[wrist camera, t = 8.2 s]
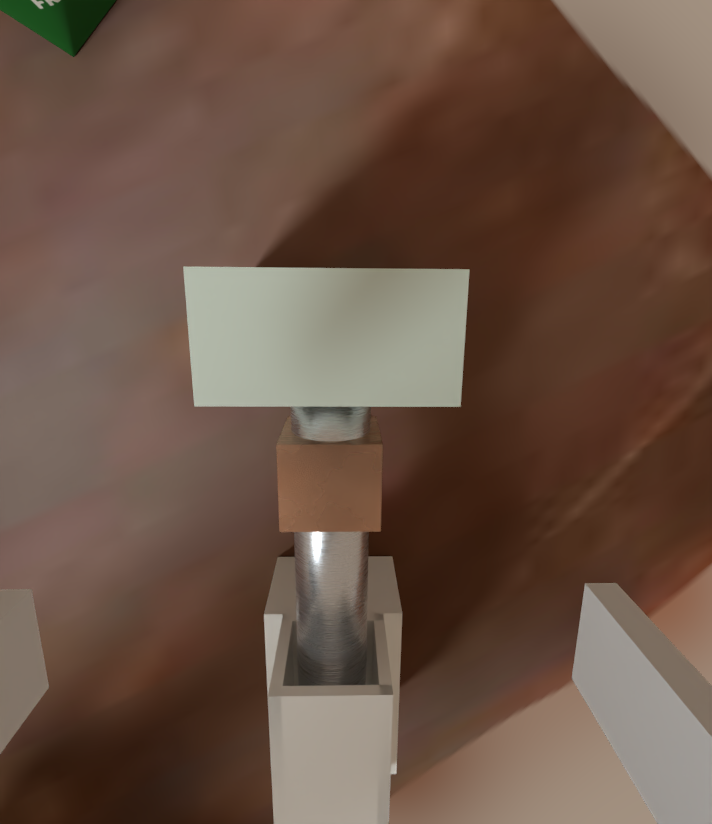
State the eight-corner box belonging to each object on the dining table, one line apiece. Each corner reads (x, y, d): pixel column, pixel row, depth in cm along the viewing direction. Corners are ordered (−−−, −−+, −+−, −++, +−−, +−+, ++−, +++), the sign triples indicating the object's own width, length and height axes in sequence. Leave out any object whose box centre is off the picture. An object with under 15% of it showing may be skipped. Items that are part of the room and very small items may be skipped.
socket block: (414, 357, 31) (460, 406, 18) (254, 356, 30) (194, 406, 18) (417, 274, 29) (469, 269, 17) (250, 273, 29) (183, 266, 17)
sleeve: (387, 696, 37) (407, 880, 26) (282, 697, 37) (255, 884, 26) (392, 556, 34) (416, 694, 23) (277, 556, 34) (244, 696, 23)
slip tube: (371, 650, 28) (376, 716, 24) (294, 651, 28) (286, 718, 24) (377, 315, 23) (385, 322, 19) (285, 314, 23) (272, 321, 19)
